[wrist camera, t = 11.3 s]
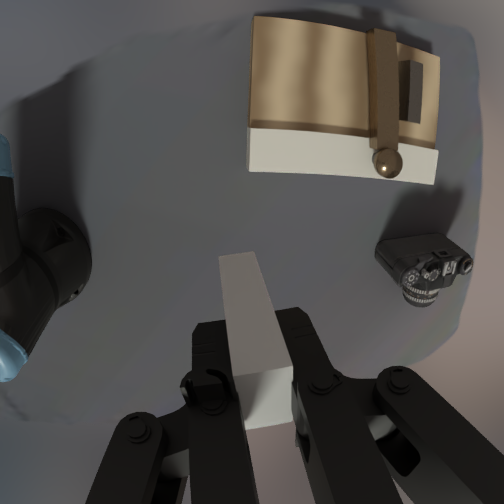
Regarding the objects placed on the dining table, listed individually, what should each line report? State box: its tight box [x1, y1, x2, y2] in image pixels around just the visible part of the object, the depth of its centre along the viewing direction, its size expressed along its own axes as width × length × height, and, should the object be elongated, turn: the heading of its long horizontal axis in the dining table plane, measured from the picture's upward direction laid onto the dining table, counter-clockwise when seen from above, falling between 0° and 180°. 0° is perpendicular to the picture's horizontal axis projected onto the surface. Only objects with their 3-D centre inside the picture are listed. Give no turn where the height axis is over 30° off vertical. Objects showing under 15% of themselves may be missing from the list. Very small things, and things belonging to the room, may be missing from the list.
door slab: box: [248, 16, 440, 149], centre depth 33 cm, size 26×14×3 cm, turn 88°
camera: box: [375, 233, 473, 307], centre depth 43 cm, size 14×11×10 cm
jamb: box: [246, 127, 438, 185], centre depth 36 cm, size 26×5×6 cm, turn 88°
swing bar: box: [366, 28, 403, 179], centre depth 30 cm, size 18×4×3 cm, turn 2°
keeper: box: [398, 60, 423, 124], centre depth 31 cm, size 2×8×4 cm, turn 178°
